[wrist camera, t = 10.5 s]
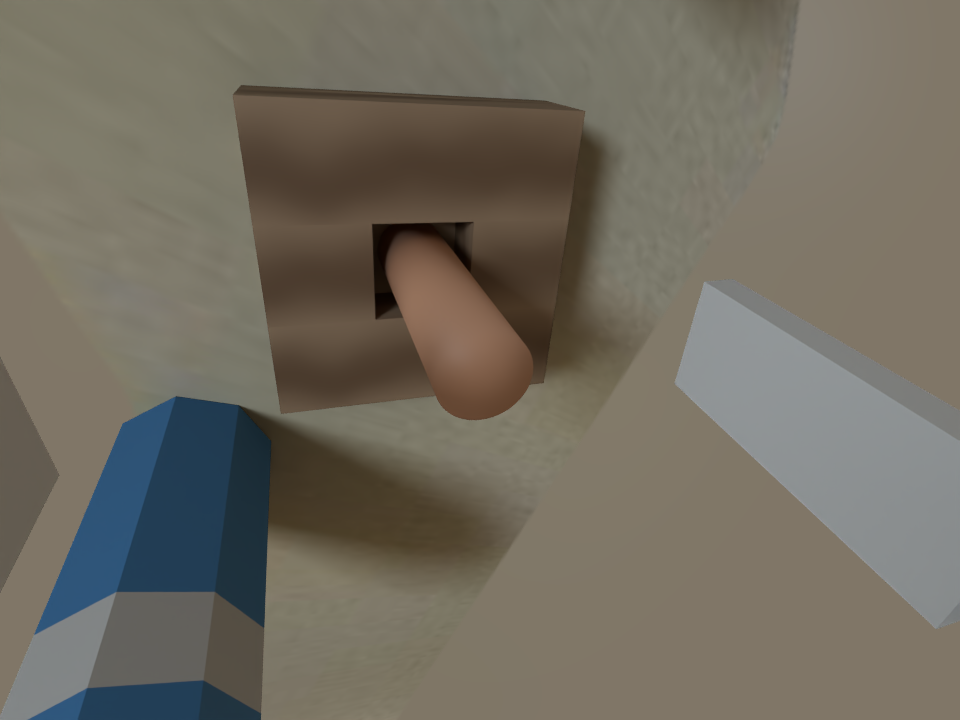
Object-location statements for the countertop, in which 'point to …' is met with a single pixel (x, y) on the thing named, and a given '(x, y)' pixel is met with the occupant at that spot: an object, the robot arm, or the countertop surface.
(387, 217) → the socket block
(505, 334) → the pin
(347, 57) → the countertop surface
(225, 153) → the countertop surface
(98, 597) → the water bottle
